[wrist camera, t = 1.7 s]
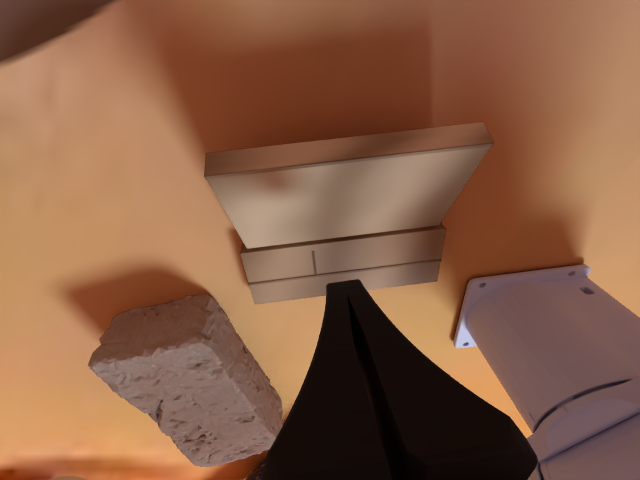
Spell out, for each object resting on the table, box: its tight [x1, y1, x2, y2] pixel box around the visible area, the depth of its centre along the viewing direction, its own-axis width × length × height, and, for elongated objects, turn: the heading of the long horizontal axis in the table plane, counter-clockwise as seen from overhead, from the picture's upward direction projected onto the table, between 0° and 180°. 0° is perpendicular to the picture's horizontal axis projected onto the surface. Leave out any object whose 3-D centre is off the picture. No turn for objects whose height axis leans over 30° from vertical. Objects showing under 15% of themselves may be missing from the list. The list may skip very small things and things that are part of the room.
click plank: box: [204, 122, 494, 249], centre depth 16 cm, size 12×7×1 cm, turn 95°
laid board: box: [240, 223, 446, 304], centre depth 20 cm, size 13×4×1 cm, turn 95°
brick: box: [88, 294, 283, 467], centre depth 24 cm, size 17×8×5 cm, turn 15°
